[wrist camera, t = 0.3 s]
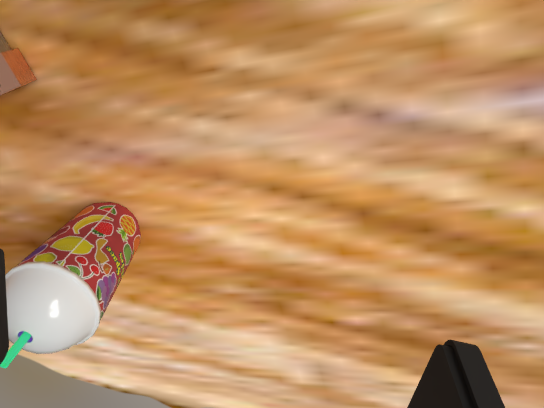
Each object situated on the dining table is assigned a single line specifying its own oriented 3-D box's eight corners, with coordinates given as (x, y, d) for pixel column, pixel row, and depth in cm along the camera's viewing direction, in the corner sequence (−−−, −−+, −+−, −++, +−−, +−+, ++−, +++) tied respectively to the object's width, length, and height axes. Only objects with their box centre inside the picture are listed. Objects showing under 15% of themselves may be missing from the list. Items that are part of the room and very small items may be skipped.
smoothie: (148, 266, 53) (61, 418, 35) (74, 249, 53) (-51, 393, 35) (155, 200, 49) (62, 332, 31) (75, 181, 49) (-63, 304, 31)
